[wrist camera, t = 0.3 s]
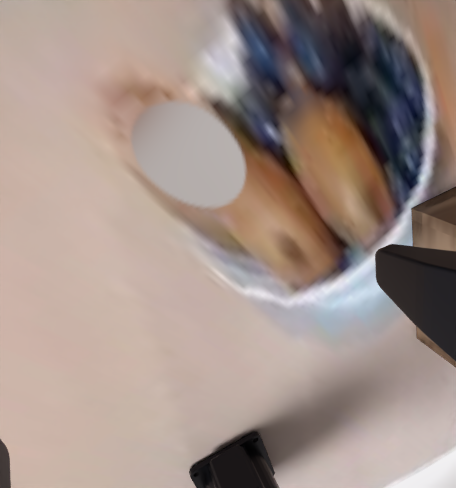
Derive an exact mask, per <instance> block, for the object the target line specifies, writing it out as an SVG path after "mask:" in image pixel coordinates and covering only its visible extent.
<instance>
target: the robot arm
mask: <svg viewBox="0 0 456 488" xmlns="http://www.w3.org/2000/svg"><path fill="white" fill-rule="evenodd" d="M375 262H376V279H377V283H378V285H379V286H380V288H381V289H382V290H383V291H384V292H385V293H386V294H387V295H388V296H389V297H390V298H391V299H392V301H393V302H394V303H395V304H396V305H397V306H398V307H399V308H400V309H401V310H402V311H403V312H404V313H405V314H406V316H407V317H408V318H409V319H410V320H411V321H412V322H413V323H414V324H415V325H416V326H417V327H418V328H419V329H420V330H421V331H422V332H423V333H424V334H425V335H426V336H427V337H428V338H429V339H430V340H432V341H433V342H434V343H435V344H436V345H437V346H438V347H440V348H441V349H442V350H443V351H444V352H445V353H446V354H448V355H449V356H450V357H451V358H452V359H453V360H454V361H456V251H449V250H440V249H431V248H422V247H413V246H404V245H396V244H391V245H388V246H386V247H383V248H381V249H379V250H378V251H377V252H376V254H375ZM189 473H190V477H191V479H192V481H193V482H194V484H195V486H196V487H197V488H279V486H278V484H277V482H276V480H275V478H274V474H275V472H274V470H273V467H272V465H271V462H270V459H269V457H268V454H267V452H266V449H265V447H264V444H263V441H262V439H261V437H260V435H259V433H258V432H253V433H251V434H249V435H248V436H246V437H244V438H242V439H241V440H239V441H237V442H236V443H234V444H232V445H230V446H229V447H227V448H225V449H223V450H222V451H220V452H218V453H216V454H215V455H213V456H211V457H209V458H208V459H206V460H204V461H202V462H201V463H199V464H197V465H195V466H194V467H192V468H191V469H190V471H189ZM0 488H11V482H10V458H9V453H8V450H7V447H6V446H5V444H4V443H3V442H2V440H1V439H0Z"/></svg>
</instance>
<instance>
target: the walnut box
mask: <svg viewBox="0 0 456 488" xmlns="http://www.w3.org/2000/svg"><path fill="white" fill-rule="evenodd" d="M412 230H413V247H422V248H431V249H440V250H449V251H456V187H455V188H453V189H451V190H449V191H447V192H445V193H442V194H440V195H438V196H436V197H434V198H432V199H430V200H428V201H426V202H424V203H422V204H420V205H418V206H416V207H414V208H412ZM416 329H417V339H419V340H420V341H421V342H423V343H424V344H425V345H427V346H428V347H429V348H431V349H432V350H433V351H435V352H436V353H437V354H439V355H440V356H441V357H443V358H444V359H445V360H447V361H448V362H449V363H451V364H452V365H453V366H455V367H456V361H454V360H453V359H452V358H451V357H450V356H449V355H448V354H446V353H445V352H444V351H443V350H442V349H441V348H440V347H438V346H437V345H436V344H435V343H434V342H433V341H432V340H430V339H429V338H428V337H427V336H426V335H425V334H424V333H423V332H422V331H421V330H420V329H419V328H418V327H417V326H416Z"/></svg>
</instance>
